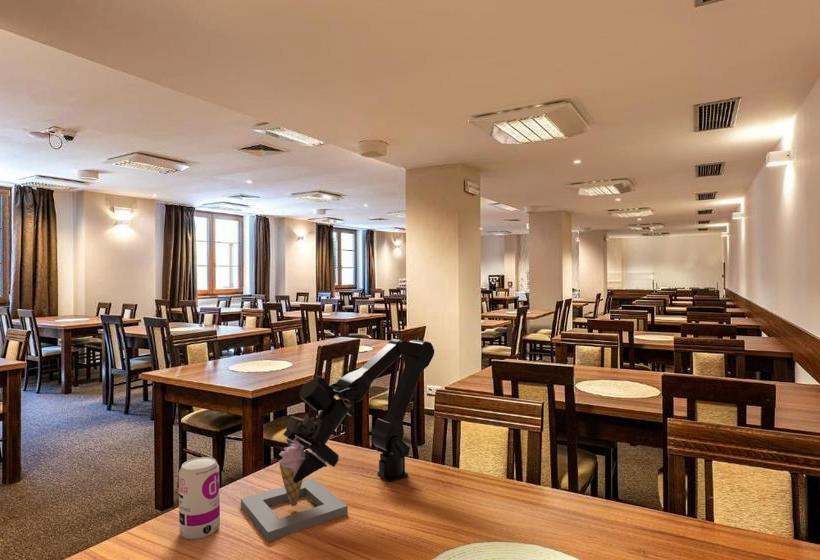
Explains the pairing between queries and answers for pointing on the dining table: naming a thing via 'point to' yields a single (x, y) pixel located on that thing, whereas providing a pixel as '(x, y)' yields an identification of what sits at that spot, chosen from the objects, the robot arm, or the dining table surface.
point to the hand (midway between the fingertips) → (288, 477)
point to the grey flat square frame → (277, 528)
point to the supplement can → (199, 498)
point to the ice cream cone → (291, 470)
